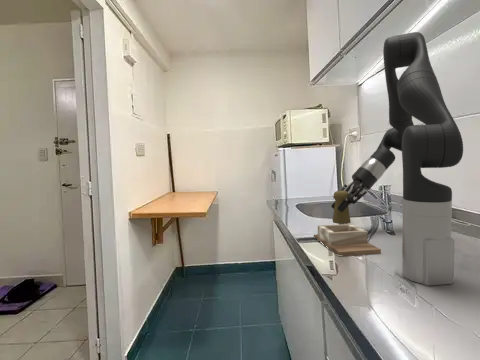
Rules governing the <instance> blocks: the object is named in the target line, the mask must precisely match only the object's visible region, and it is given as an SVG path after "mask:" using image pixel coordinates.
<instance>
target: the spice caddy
mask: <svg viewBox="0 0 480 360" xmlns="http://www.w3.org/2000/svg"><path fill="white" fill-rule="evenodd" d="M314 237H315V238H317V239H318V240H319V241H321V242H322V243H323V244H324V245H325V246H327V247H328V248H329V249H330V250H329V249H328V248H327V247H326V248H327V249H328V250H329V251H331V250H332V251H333V252H332V251H331V252H332V253H333V254H335V253H336V254H338V255H343V256H342V257H350V256H351V257H352V256H364V255H365V256H366V255H367V256H368V255H379V254H382V249H381V248H379V247H378V246H375V245H374V244H371V243H369V242H368V231H367V230H365V229H363V228H360V227H359V226H356V225H354V224H351V223H348V224H324V225H317V234H313V238H314ZM324 245H323V246H324ZM325 246H324V247H325ZM336 254H335V255H336ZM338 255H337V256H338Z"/></svg>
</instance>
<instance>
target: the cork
mask: <svg viewBox="0 0 480 360" xmlns="http://www.w3.org/2000/svg"><path fill="white" fill-rule="evenodd" d="M347 193H348V192H347V191H340V190H336V191H335V192H334V193H333V199H334V202H335V207H334V209H333V215H332V216H333V217H332V223H333V224H336V225H340V224H351V216H350V215H351V214H350V209H349V206H348V207H347V208H346V209H345V210H344V211H343V212H340V211H339V210H338V209H337V207H338V206H339V205H340V204H341V203H342V202H343V201H344V200H345V198H346V197H347V196H348V195H347Z"/></svg>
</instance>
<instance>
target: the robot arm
mask: <svg viewBox="0 0 480 360" xmlns="http://www.w3.org/2000/svg"><path fill="white" fill-rule="evenodd" d="M382 52H383V55H382V56H383V67H384V74H385V76H384V77H385V84H386V89H387V97H388V122H389V124H390V126H391V128H389V129H388V130H387V131H385V133H384V135H383V137H382V138H381V141H380V143H379V145H378V146H377V148H376V149H375V151H374V152H373V153H372V154H371V156H370V157H369V158H367V159H366V160H365V161H364V162H363V163H362V164H361V165H360V166H359V167H358V168H357V169H356V171H355V172H354V173H353V174H352V175H351V178H352V182H351V183H349V184H344V185H343V186H342V188H341V189H340V190H339V191H347V192H348V193H347V195H348V196H347V197H346V198H345V200H344V201H343V202H342V203H341V204H340V205H339V206H338V207H337V209H338V210H339V211H340V212H343V211H344V210H345V209H346V208H347V207H348V208H349V205H352V204H353V205H355V204H356V203H358V201H359V200H361V199H362V198H363V197H364V196H365V195H366V194H367V193H368V190H369V191H370V190H371V189H372V188H373V186H374V185H375V184H376V183H377V182H378V181H379V179H381V178H382V176H383V175H384V173H385V172H386V171H387V170H388V169H389V167H390V166H391V165H392V164H394V162H395V161H396V155H395V154H394V152H393V151H391V149H392V148H393V149H395V150H397V151H400V152H401V158H402V159H401V160H402V234H401V236H402V237H401V238H402V240H401V241H402V243H401V245H402V247H401V248H402V251H401V253H402V256H401V258H402V259H401V260H402V261H401V263H402V264H401V275H402V276H403V277H404V278H406V279H407V280H409V281H412V282H415V283H419V284H423V285H425V286H440V285H451V284H453V285H454V283H455V282H454V279H455V278H454V277H455V239H454V238H453V237H452V213H453V211H452V210H453V209H452V208H453V191H452V188H451V187H450V186H448V185H445V184H442V183H439V182H436V181H433V180H431V179H429V178H427V177H425V175H423V174H422V169H442V168H443V169H444V168H451V167H455V166H457V165H458V164H459V163H460V162H461V160H462V158H463V155H464V143H463V138H462V134H461V131H460V128H459V127H458V125H457V123H456V121H455V119H454V117H453V115H452V114H451V111H450V110H449V109H448V106H447V105H446V102H445V100H444V97H443V93H442V90H441V87H440V83H439V81H438V79H437V76H436V74H435V72H434V69H433V66H432V63H431V60H430V56H429V52H428V46H427V43H426V38H425V37H424V34H422V33H421V32H417V31H415V32H408V33H402V34H399V35H398V34H397V35H392V36H389V37H387V38H386V39H385V40H384V42H383V50H382ZM405 67H406V69H405V70H404V71H403V72H402V73H401V75H400V77H399V78H398V76H397V71H396V69H400V68H405ZM413 118H415V119H416V120H417V121H419V122H421V123H423V124H414V122H413ZM330 207H331V208H332V209H333V210H334V207H335V201H334V202H333V203H332V204H331V205H330Z"/></svg>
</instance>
